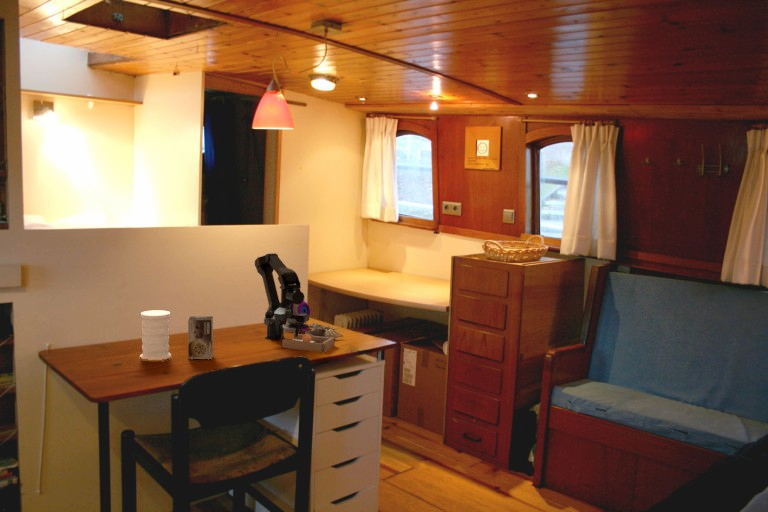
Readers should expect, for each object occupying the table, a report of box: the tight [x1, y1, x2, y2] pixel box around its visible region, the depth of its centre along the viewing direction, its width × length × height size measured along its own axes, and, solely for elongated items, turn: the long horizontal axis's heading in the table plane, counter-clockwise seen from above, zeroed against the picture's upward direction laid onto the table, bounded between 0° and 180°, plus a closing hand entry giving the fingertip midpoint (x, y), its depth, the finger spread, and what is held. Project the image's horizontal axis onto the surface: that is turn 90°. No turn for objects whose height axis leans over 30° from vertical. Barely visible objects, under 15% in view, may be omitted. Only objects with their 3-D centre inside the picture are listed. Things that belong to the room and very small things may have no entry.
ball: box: [302, 333, 311, 342], centre depth 283 cm, size 4×4×4 cm
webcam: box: [283, 300, 311, 333], centre depth 313 cm, size 13×13×15 cm
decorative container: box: [139, 309, 172, 360], centre depth 255 cm, size 12×12×18 cm
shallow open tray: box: [281, 333, 336, 353], centre depth 282 cm, size 19×12×4 cm, turn 72°
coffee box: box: [187, 315, 214, 360], centre depth 258 cm, size 9×6×16 cm
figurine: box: [303, 322, 343, 339], centre depth 300 cm, size 20×6×17 cm
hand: (286, 335), depth 285 cm, fingers open, 9 cm apart
